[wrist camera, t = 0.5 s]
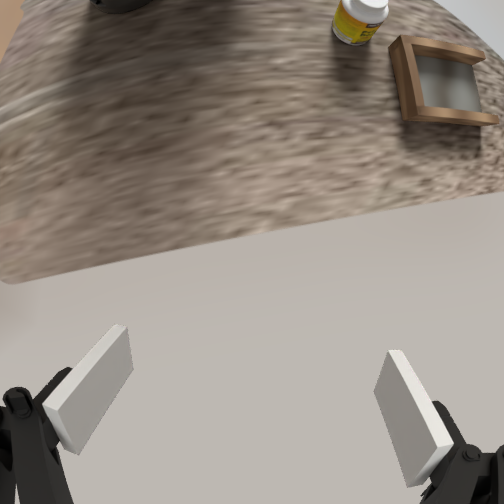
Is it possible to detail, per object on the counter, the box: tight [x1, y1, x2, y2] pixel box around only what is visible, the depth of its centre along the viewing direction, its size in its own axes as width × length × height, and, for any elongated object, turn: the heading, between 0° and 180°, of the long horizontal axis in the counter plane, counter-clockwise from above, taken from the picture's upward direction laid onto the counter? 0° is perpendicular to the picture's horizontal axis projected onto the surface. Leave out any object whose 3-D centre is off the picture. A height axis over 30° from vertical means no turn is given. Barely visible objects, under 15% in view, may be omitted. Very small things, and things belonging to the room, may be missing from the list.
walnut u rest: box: [388, 35, 499, 127], centre depth 29 cm, size 14×11×5 cm
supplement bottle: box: [332, 0, 388, 45], centre depth 26 cm, size 6×6×10 cm
